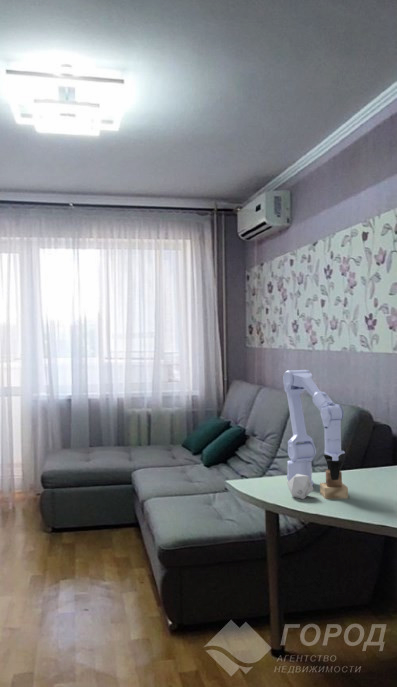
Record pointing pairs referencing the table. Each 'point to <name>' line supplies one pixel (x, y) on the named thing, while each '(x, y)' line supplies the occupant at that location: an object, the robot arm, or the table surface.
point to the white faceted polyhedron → (300, 486)
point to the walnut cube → (333, 482)
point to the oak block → (333, 491)
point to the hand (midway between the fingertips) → (333, 477)
